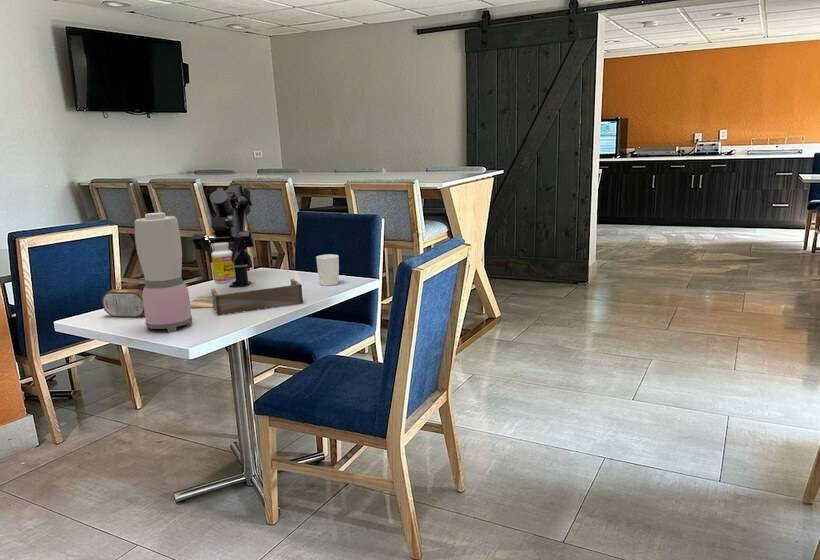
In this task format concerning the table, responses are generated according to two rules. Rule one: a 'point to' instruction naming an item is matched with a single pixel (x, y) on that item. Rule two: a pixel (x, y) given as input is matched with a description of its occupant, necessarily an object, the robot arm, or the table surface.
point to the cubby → (257, 299)
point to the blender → (162, 272)
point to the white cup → (328, 269)
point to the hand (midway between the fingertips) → (221, 261)
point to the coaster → (202, 302)
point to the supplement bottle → (223, 264)
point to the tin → (124, 303)
